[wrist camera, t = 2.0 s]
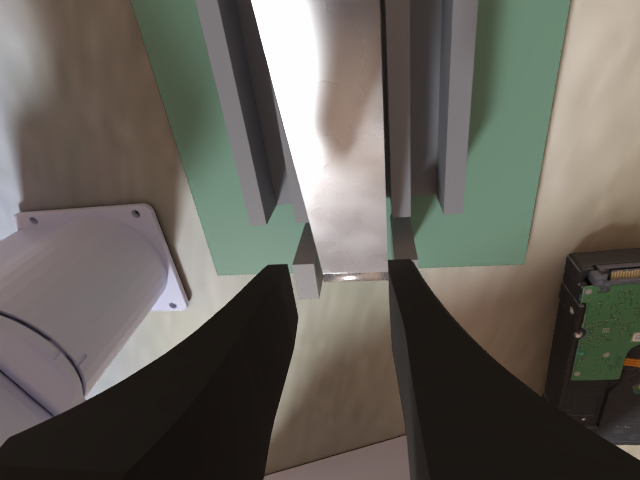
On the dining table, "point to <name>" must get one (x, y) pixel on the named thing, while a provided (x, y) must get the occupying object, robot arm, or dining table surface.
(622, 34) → the dining table surface
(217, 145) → the board
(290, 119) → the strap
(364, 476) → the game console
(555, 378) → the disk drive
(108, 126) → the dining table surface
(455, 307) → the dining table surface
